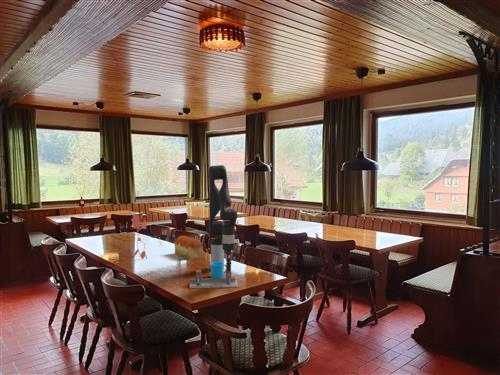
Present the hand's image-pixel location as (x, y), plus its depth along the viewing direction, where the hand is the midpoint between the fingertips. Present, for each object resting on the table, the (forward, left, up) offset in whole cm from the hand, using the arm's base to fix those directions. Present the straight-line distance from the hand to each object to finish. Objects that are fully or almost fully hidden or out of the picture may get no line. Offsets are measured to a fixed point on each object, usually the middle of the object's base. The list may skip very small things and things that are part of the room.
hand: (228, 269), depth 230 cm
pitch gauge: (+3, -9, -9) cm, 13 cm away
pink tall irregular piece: (-70, -68, -9) cm, 98 cm away
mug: (-17, -5, -9) cm, 20 cm away
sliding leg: (+2, 0, -6) cm, 7 cm away
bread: (-77, -28, -9) cm, 82 cm away
